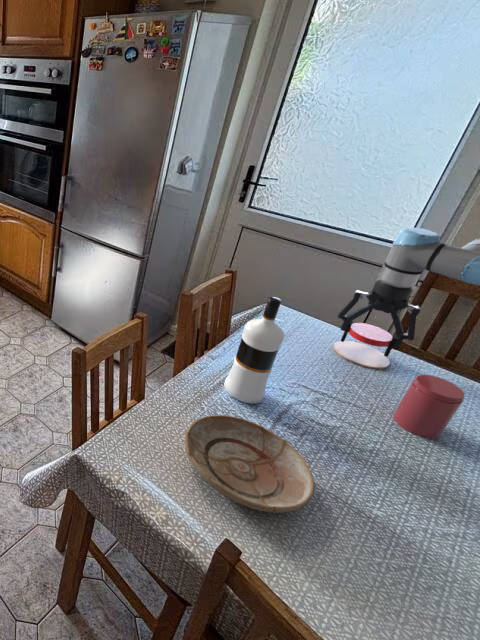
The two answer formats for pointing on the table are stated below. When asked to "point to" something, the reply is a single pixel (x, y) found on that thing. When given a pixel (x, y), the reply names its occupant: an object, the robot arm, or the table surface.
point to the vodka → (255, 356)
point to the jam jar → (428, 406)
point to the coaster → (361, 354)
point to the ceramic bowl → (249, 464)
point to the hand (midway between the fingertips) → (363, 346)
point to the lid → (370, 334)
